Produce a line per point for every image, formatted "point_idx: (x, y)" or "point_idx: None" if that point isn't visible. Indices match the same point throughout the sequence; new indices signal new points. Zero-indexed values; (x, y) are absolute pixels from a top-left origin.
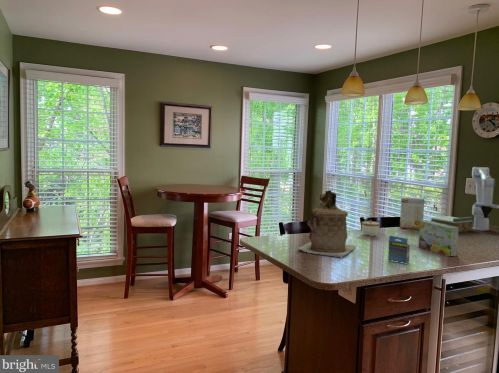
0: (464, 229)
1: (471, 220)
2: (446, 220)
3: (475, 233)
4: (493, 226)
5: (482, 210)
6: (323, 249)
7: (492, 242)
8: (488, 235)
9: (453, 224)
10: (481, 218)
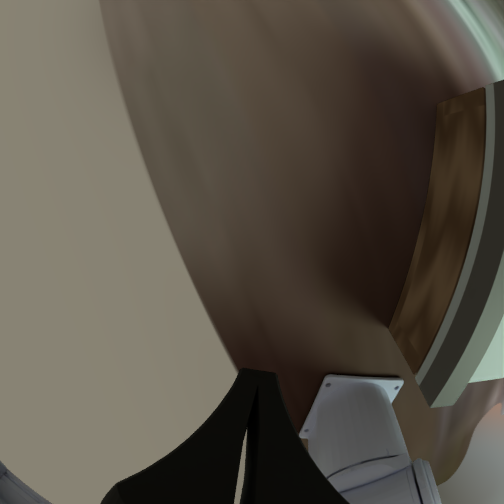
0: (427, 237)
1: (425, 371)
2: None
3: (328, 225)
4: None
5: (312, 475)
6: None
7: (112, 17)
8: (217, 232)
9: None
10: (351, 457)
